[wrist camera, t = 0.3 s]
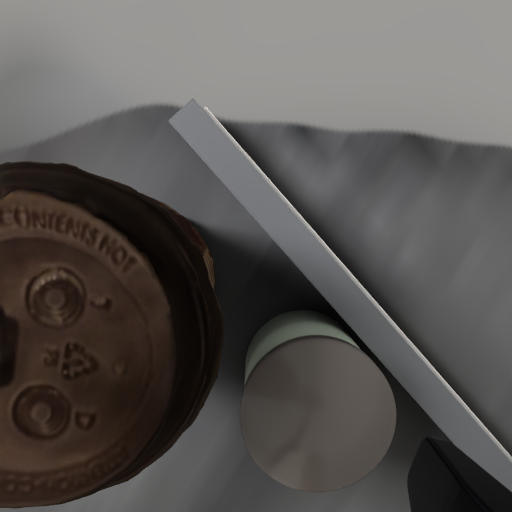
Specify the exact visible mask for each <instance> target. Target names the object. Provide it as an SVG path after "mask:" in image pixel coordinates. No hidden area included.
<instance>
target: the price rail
mask: <svg viewBox="0 0 512 512" xmlns="http://www.w3.org/2000/svg"><path fill="white" fill-rule="evenodd" d="M169 122H170V123H171V125H172V126H173V127H174V128H175V129H176V130H177V131H178V133H179V134H180V135H181V136H182V137H183V138H184V139H185V140H186V142H187V143H188V144H189V145H190V146H191V147H192V148H193V150H194V151H195V152H196V153H197V154H198V155H199V156H200V157H201V159H202V160H203V161H204V162H205V163H206V164H207V165H208V166H209V168H210V169H211V170H212V171H213V172H214V173H215V174H216V176H217V177H218V178H219V179H220V180H221V181H222V182H223V183H224V185H225V186H226V187H227V188H228V189H229V190H230V191H231V192H232V194H233V195H234V196H235V197H236V198H237V199H238V200H239V202H240V203H241V204H242V205H243V206H244V207H245V208H246V209H247V211H248V212H249V213H250V214H251V215H252V216H253V217H254V219H255V220H256V221H257V222H258V223H259V224H260V225H261V226H262V228H263V229H264V230H265V231H266V232H267V233H268V234H269V235H270V237H271V238H272V239H273V240H274V241H275V242H276V243H277V245H278V246H279V247H280V248H281V249H282V250H283V251H284V252H285V254H286V255H287V256H288V257H289V258H290V259H291V260H292V261H293V263H294V264H295V265H296V266H297V267H298V268H299V269H300V271H301V272H302V273H303V274H304V275H305V276H306V277H307V278H308V280H309V281H310V282H311V283H312V284H313V285H314V286H315V287H316V289H317V290H318V291H319V292H320V293H321V294H322V295H323V297H324V298H325V299H326V300H327V301H328V302H329V303H330V304H331V306H332V307H333V308H334V309H335V310H336V311H337V312H338V314H339V315H340V316H341V317H342V318H343V319H344V320H345V321H346V323H347V324H348V325H349V326H350V327H351V328H352V329H353V330H354V332H355V333H356V334H357V335H358V336H359V337H360V338H361V340H362V341H363V342H364V343H365V344H366V345H367V346H368V347H369V349H370V350H371V351H372V352H373V353H374V354H375V355H376V356H377V358H378V359H379V360H380V361H381V362H382V363H383V364H384V366H385V367H386V368H387V369H388V370H389V371H390V372H391V373H392V375H393V376H394V377H395V378H396V379H397V380H398V381H399V383H400V384H401V385H402V386H403V387H404V388H405V389H406V390H407V392H408V393H409V394H410V395H411V396H412V397H413V398H414V399H415V401H416V402H417V403H418V404H419V405H420V406H421V407H422V409H423V410H424V411H425V412H426V413H427V414H428V415H429V416H430V418H431V419H432V420H433V421H434V422H435V423H436V424H437V425H438V427H439V428H440V429H441V430H442V431H443V432H444V433H445V435H446V436H447V437H448V438H449V439H450V440H451V441H452V442H453V444H454V445H455V446H457V447H458V448H459V449H460V450H461V451H463V452H464V453H465V454H466V455H467V456H469V457H470V458H471V459H472V460H474V461H475V462H476V463H477V464H478V465H480V466H481V467H482V468H483V469H484V470H486V471H487V472H488V473H489V474H491V475H492V476H493V477H494V478H495V479H497V480H498V481H499V482H500V483H501V484H503V485H504V486H505V487H506V488H508V489H509V490H510V491H511V492H512V457H511V455H510V454H509V453H508V452H507V451H506V450H505V449H504V447H503V446H502V445H501V444H500V443H499V442H498V441H497V439H496V438H495V437H494V436H493V435H492V434H491V433H490V431H489V430H488V429H487V428H486V427H485V426H484V425H483V423H482V422H481V421H480V420H479V419H478V418H477V417H476V415H475V414H474V413H473V412H472V411H471V410H470V409H469V407H468V406H467V405H466V404H465V403H464V402H463V400H462V399H461V398H460V397H459V396H458V395H457V394H456V392H455V391H454V390H453V389H452V388H451V387H450V386H449V384H448V383H447V382H446V381H445V380H444V379H443V378H442V376H441V375H440V374H439V373H438V372H437V371H436V370H435V368H434V367H433V366H432V365H431V364H430V363H429V362H428V360H427V359H426V358H425V357H424V356H423V355H422V354H421V352H420V351H419V350H418V349H417V348H416V347H415V346H414V344H413V343H412V342H411V341H410V340H409V339H408V338H407V336H406V335H405V334H404V333H403V332H402V331H401V329H400V328H399V327H398V326H397V325H396V324H395V323H394V321H393V320H392V319H391V318H390V317H389V316H388V315H387V313H386V312H385V311H384V310H383V309H382V308H381V307H380V305H379V304H378V303H377V302H376V301H375V300H374V299H373V297H372V296H371V295H370V294H369V293H368V292H367V291H366V289H365V288H364V287H363V286H362V285H361V284H360V283H359V281H358V280H357V279H356V278H355V277H354V276H353V275H352V273H351V272H350V271H349V270H348V269H347V268H346V267H345V265H344V264H343V263H342V262H341V261H340V260H339V258H338V257H337V256H336V255H335V254H334V253H333V252H332V250H331V249H330V248H329V247H328V246H327V245H326V244H325V242H324V241H323V240H322V239H321V238H320V237H319V236H318V234H317V233H316V232H315V231H314V230H313V229H312V228H311V226H310V225H309V224H308V223H307V222H306V221H305V220H304V218H303V217H302V216H301V215H300V214H299V213H298V212H297V210H296V209H295V208H294V207H293V206H292V205H291V204H290V202H289V201H288V200H287V199H286V198H285V197H284V196H283V194H282V193H281V192H280V191H279V190H278V189H277V187H276V186H275V185H274V184H273V183H272V182H271V181H270V179H269V178H268V177H267V176H266V175H265V174H264V173H263V171H262V170H261V169H260V168H259V167H258V166H257V165H256V163H255V162H254V161H253V160H252V159H251V158H250V157H249V155H248V154H247V153H246V152H245V151H244V150H243V149H242V147H241V146H240V145H239V144H238V143H237V142H236V141H235V139H234V138H233V137H232V136H231V135H230V134H229V133H228V131H227V130H226V129H225V128H224V127H223V126H222V125H221V123H220V122H219V121H218V120H217V119H216V118H215V116H214V115H213V114H212V113H211V112H210V111H209V110H208V108H207V107H206V106H205V107H204V108H203V109H202V108H201V107H200V106H199V105H198V103H197V102H196V101H195V100H194V99H191V100H190V101H189V102H188V103H187V104H186V105H185V106H184V107H183V108H182V109H181V110H180V111H178V112H177V113H176V114H175V115H174V116H173V117H172V118H171V119H170V120H169Z"/></svg>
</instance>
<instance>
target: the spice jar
mask: <svg viewBox="0 0 512 512" xmlns="http://www.w3.org/2000/svg"><path fill="white" fill-rule="evenodd" d="M395 426H396V405H395V400H394V396H393V392H392V390H391V388H390V385H389V383H388V381H387V380H386V378H385V376H384V375H383V373H382V372H381V371H380V370H379V368H378V367H377V366H376V364H375V363H374V362H373V361H372V359H371V358H370V357H369V356H368V355H367V354H366V353H365V352H363V351H362V350H361V349H360V348H359V347H358V346H357V344H356V343H355V342H354V340H353V339H352V338H351V337H350V335H349V334H348V333H347V331H346V330H345V329H344V328H343V327H342V326H341V325H340V324H339V323H338V322H336V321H335V320H334V319H332V318H330V317H329V316H327V315H324V314H322V313H319V312H315V311H308V310H296V311H290V312H286V313H283V314H280V315H278V316H276V317H274V318H272V319H271V320H269V321H268V322H267V323H265V324H264V325H263V326H262V327H261V328H260V329H259V330H258V332H257V333H256V334H255V336H254V337H253V339H252V341H251V343H250V345H249V348H248V351H247V355H246V362H245V386H244V390H243V394H242V401H241V429H242V435H243V438H244V442H245V444H246V447H247V449H248V451H249V453H250V455H251V456H252V458H253V459H254V461H255V462H256V463H257V465H258V466H259V467H260V468H261V469H262V470H263V471H264V472H265V473H266V474H267V475H269V476H270V477H272V478H273V479H274V480H276V481H278V482H280V483H281V484H283V485H286V486H288V487H291V488H293V489H298V490H302V491H309V492H326V491H333V490H337V489H341V488H344V487H346V486H349V485H351V484H353V483H355V482H357V481H359V480H361V479H362V478H363V477H365V476H366V475H367V474H369V473H370V472H371V471H372V470H373V469H374V468H375V467H376V466H377V465H378V464H379V462H380V461H381V460H382V459H383V457H384V456H385V454H386V452H387V451H388V449H389V446H390V444H391V442H392V439H393V436H394V432H395Z"/></svg>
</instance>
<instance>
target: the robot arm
mask: <svg viewBox="0 0 512 512" xmlns="http://www.w3.org/2000/svg"><path fill="white" fill-rule="evenodd" d="M407 485H408V493H409V500H410V507H411V512H512V492H511V491H510V490H509V489H508V488H506V487H505V486H504V485H503V484H501V483H500V482H499V481H498V480H497V479H495V478H494V477H493V476H492V475H491V474H489V473H488V472H487V471H486V470H484V469H483V468H482V467H481V466H480V465H478V464H477V463H476V462H475V461H474V460H472V459H471V458H470V457H469V456H467V455H466V454H465V453H464V452H463V451H461V450H460V449H459V448H458V447H457V446H455V445H454V444H453V443H452V442H450V441H448V440H445V439H441V438H436V437H431V436H427V437H425V438H424V439H423V440H422V442H421V443H420V446H419V448H418V451H417V453H416V456H415V458H414V461H413V463H412V466H411V468H410V471H409V474H408V480H407Z"/></svg>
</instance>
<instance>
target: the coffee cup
mask: <svg viewBox="0 0 512 512" xmlns="http://www.w3.org/2000/svg"><path fill="white" fill-rule="evenodd" d="M214 288H215V271H214V262H213V258H212V256H211V253H210V251H209V249H208V248H207V246H206V244H205V242H204V241H203V239H202V237H201V235H200V234H199V232H198V231H197V230H196V229H195V227H194V226H193V225H192V224H191V222H190V221H188V220H187V219H186V218H185V217H184V216H182V215H180V214H179V213H178V212H176V211H175V210H174V209H172V208H171V207H169V206H168V205H166V204H164V203H162V202H159V201H157V200H155V199H153V198H151V197H148V196H146V195H144V194H141V193H139V192H137V191H136V190H135V189H133V188H131V187H129V186H127V185H124V184H121V183H119V182H116V181H113V180H110V179H107V178H103V177H100V176H97V175H94V174H91V173H88V172H86V171H83V170H81V169H79V168H77V167H75V166H72V165H68V164H65V163H61V164H54V163H39V162H31V161H24V162H13V163H11V162H6V163H3V164H0V508H22V507H36V506H49V505H57V504H63V503H67V502H70V501H73V500H77V499H80V498H83V497H86V496H89V495H91V494H93V493H95V492H97V491H100V490H103V489H105V488H108V487H111V486H114V485H117V484H120V483H123V482H126V481H128V480H130V479H131V478H133V477H135V476H136V475H138V474H139V473H140V472H141V471H142V470H143V469H145V468H146V467H148V466H149V465H151V464H152V463H153V462H155V461H156V460H157V459H159V458H160V457H161V456H162V455H163V454H164V453H166V452H167V451H168V450H169V449H170V448H171V447H172V446H173V445H174V444H175V442H176V441H177V440H178V439H179V437H180V436H181V435H182V433H183V432H184V431H185V430H187V429H188V428H189V427H190V426H191V425H192V424H193V422H194V421H195V419H196V417H197V416H198V414H199V412H200V410H201V409H202V407H203V406H204V403H205V401H206V399H207V397H208V395H209V393H210V391H211V389H212V387H213V385H214V383H215V381H216V379H217V377H218V370H219V365H220V360H221V356H222V347H223V337H224V322H223V314H222V311H221V308H220V306H219V303H218V300H217V297H216V294H215V292H214Z"/></svg>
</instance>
